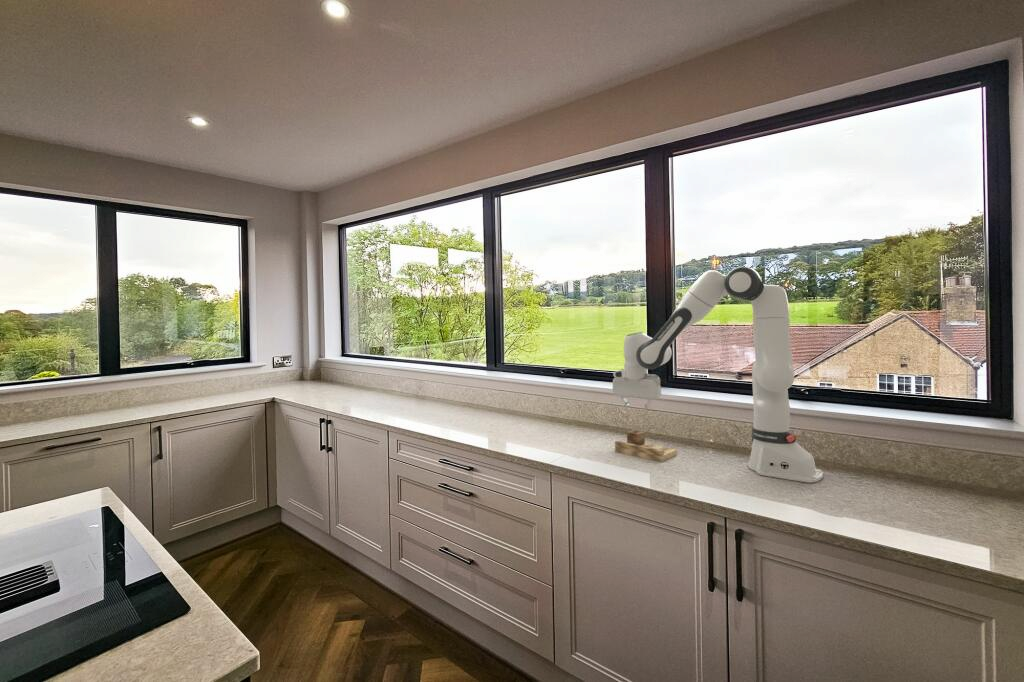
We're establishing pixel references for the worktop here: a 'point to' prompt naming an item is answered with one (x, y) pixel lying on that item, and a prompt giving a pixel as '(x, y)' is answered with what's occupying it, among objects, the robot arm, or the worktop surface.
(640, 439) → the brown wooden block
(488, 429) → the worktop surface
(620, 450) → the board
